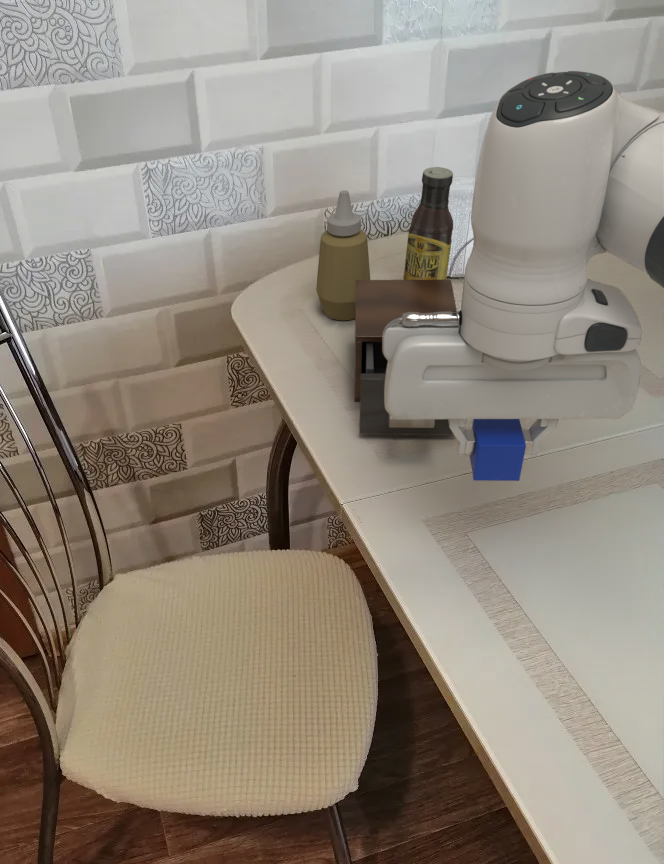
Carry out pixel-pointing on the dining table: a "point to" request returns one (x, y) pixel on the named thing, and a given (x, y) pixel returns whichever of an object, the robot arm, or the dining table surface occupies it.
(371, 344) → the dark grey drawer
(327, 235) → the squeeze bottle
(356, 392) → the wooden drawer cabinet
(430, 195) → the sauce bottle
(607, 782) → the dining table surface
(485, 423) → the block
